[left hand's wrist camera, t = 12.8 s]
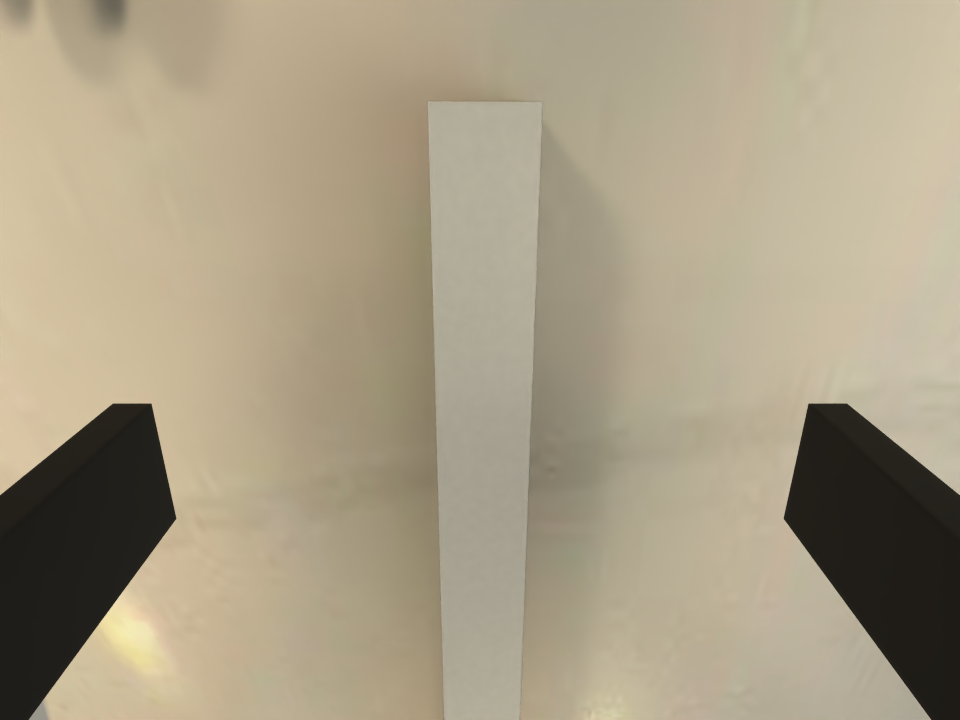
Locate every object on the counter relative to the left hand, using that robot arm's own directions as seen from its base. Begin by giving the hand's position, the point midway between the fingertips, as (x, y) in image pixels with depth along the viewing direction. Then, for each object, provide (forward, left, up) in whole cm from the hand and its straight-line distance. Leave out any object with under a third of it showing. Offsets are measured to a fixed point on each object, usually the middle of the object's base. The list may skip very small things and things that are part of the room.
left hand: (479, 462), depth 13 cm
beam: (+20, -15, -24) cm, 35 cm away
